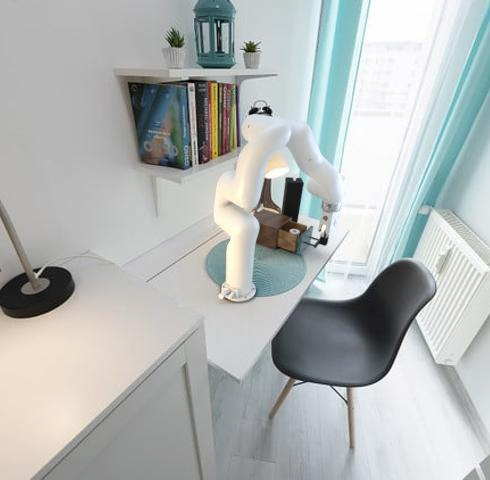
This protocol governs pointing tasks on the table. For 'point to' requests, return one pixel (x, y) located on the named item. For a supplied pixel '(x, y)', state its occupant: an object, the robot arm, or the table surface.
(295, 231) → the paper towel roll
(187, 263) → the table surface
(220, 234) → the table surface
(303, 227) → the drawer
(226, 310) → the table surface
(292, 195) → the black square column
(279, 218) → the cabinet
